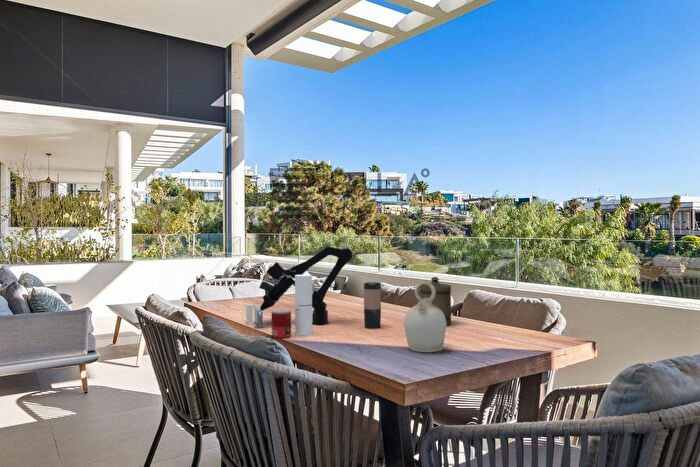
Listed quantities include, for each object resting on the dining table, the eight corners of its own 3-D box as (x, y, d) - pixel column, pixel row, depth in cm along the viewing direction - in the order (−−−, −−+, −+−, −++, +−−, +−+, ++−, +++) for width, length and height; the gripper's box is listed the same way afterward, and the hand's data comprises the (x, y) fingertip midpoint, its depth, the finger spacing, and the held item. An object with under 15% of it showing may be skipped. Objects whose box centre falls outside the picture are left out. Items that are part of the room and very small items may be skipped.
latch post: (253, 323, 241) (253, 304, 241) (247, 324, 240) (247, 305, 240) (249, 321, 247) (249, 303, 247) (244, 322, 246) (244, 303, 246)
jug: (418, 342, 199) (417, 278, 199) (454, 348, 189) (453, 280, 189) (396, 349, 187) (395, 281, 187) (433, 356, 177) (432, 284, 177)
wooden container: (457, 324, 238) (457, 276, 238) (438, 328, 227) (438, 279, 227) (431, 320, 248) (431, 275, 248) (412, 324, 238) (412, 277, 238)
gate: (261, 325, 234) (260, 309, 233) (257, 325, 233) (257, 309, 233) (257, 320, 245) (257, 305, 244) (254, 321, 244) (254, 305, 244)
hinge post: (266, 327, 232) (266, 311, 232) (260, 328, 229) (260, 313, 229) (259, 326, 234) (259, 311, 234) (253, 328, 231) (253, 312, 231)
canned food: (289, 339, 207) (289, 312, 207) (270, 339, 207) (270, 312, 207) (292, 335, 214) (292, 309, 214) (273, 335, 215) (273, 309, 215)
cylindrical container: (309, 336, 212) (309, 276, 212) (293, 335, 213) (292, 276, 213) (314, 332, 219) (313, 274, 219) (298, 332, 220) (297, 274, 220)
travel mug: (381, 325, 234) (381, 282, 234) (380, 329, 226) (380, 284, 226) (364, 325, 235) (364, 282, 234) (363, 328, 227) (363, 284, 227)
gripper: (272, 273, 250) (250, 296, 250) (266, 276, 231) (242, 302, 231) (288, 289, 250) (266, 312, 250) (284, 293, 231) (260, 318, 231)
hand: (259, 310), depth 240 cm, fingers closed
